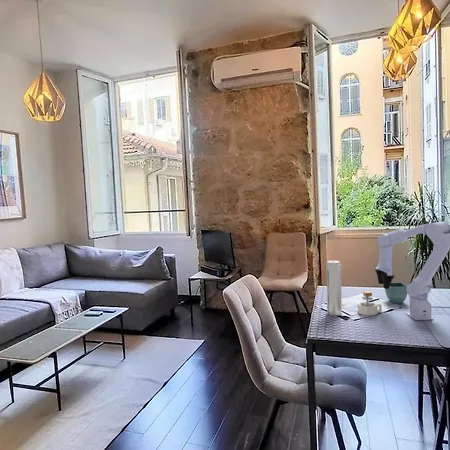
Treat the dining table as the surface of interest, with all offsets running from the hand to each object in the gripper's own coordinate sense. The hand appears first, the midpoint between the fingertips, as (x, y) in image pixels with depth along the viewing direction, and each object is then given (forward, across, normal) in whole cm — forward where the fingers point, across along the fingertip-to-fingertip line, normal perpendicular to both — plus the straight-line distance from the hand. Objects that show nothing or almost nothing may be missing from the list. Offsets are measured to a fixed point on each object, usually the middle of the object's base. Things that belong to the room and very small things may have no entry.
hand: (383, 286), depth 191 cm
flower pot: (+11, -8, +10) cm, 17 cm away
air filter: (+12, +8, -25) cm, 28 cm away
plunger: (+7, +7, -9) cm, 14 cm away
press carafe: (+11, +8, -8) cm, 15 cm away
